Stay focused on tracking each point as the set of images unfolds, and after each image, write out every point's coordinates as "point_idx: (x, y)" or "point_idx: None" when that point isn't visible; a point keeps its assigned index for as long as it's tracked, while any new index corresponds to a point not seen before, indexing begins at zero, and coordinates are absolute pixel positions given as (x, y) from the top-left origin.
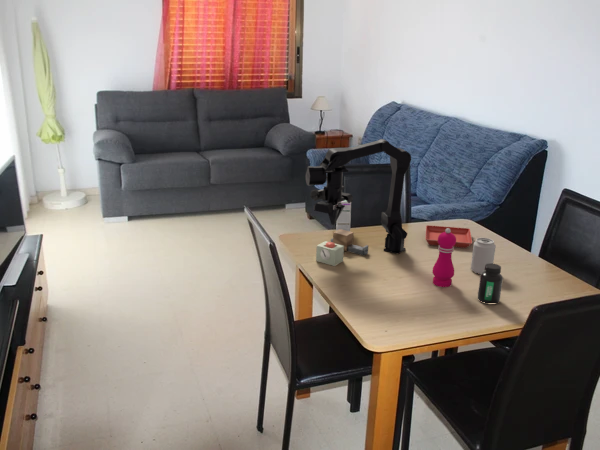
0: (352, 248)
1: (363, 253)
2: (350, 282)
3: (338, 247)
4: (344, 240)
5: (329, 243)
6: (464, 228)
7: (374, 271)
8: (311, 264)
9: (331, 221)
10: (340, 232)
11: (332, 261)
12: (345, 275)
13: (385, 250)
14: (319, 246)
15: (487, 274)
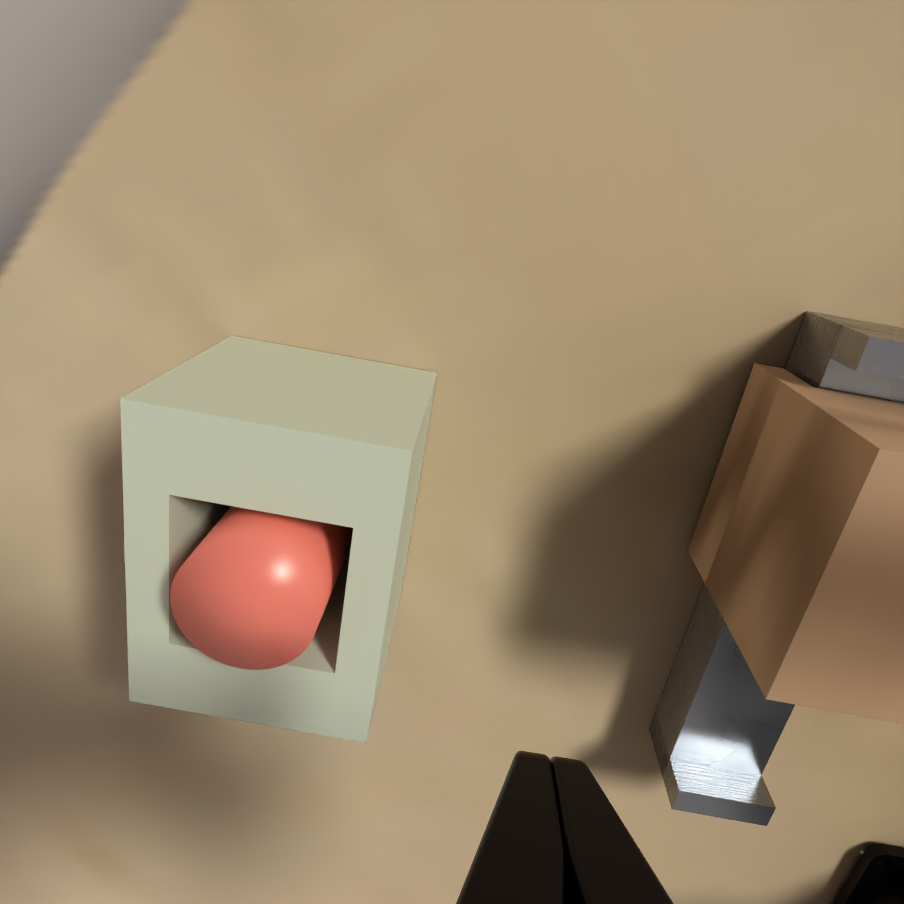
0: (709, 644)
1: (656, 742)
2: (2, 778)
3: (263, 704)
4: (745, 609)
5: (242, 597)
6: None
7: (326, 868)
8: (99, 332)
9: (478, 854)
10: None
11: None
12: (95, 713)
13: (860, 864)
14: (124, 454)
15: None
